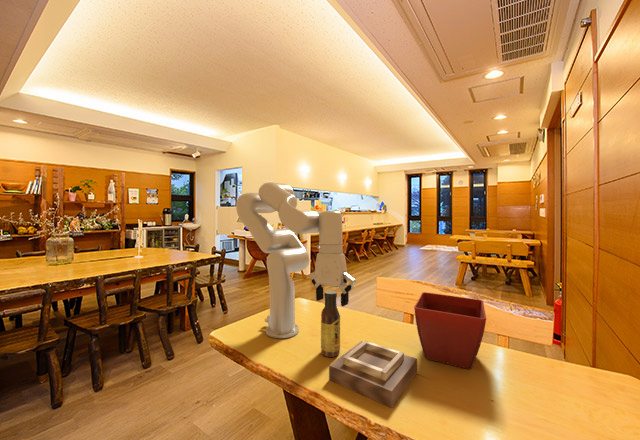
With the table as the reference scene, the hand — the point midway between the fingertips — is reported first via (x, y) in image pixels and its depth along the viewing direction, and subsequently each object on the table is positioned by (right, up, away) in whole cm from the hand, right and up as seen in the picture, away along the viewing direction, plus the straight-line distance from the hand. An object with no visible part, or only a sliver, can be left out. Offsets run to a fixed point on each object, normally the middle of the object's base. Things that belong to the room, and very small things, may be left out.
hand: (331, 302), depth 90 cm
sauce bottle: (0, -17, +1) cm, 17 cm away
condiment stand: (+11, -17, -12) cm, 24 cm away
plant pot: (+38, -17, -1) cm, 41 cm away
